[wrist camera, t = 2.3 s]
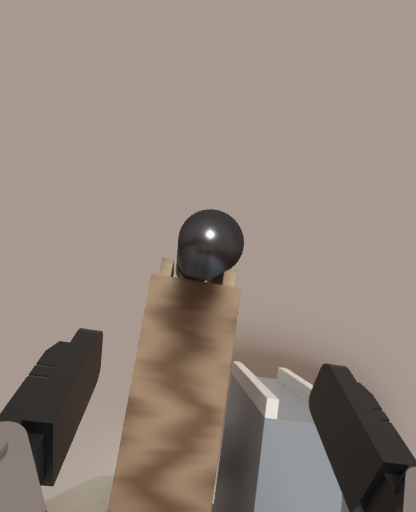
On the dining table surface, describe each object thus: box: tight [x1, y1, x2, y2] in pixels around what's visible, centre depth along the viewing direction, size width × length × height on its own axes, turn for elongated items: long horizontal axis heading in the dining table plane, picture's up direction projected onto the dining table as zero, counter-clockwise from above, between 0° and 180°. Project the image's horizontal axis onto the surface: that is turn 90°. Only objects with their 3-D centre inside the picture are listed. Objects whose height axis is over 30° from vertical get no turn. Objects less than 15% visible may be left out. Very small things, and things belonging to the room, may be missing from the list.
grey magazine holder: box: [213, 361, 342, 512], centre depth 30 cm, size 7×14×24 cm, turn 6°
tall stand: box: [108, 258, 241, 512], centre depth 31 cm, size 8×14×34 cm, turn 6°
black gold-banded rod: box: [176, 209, 244, 282], centre depth 29 cm, size 23×4×4 cm, turn 6°
